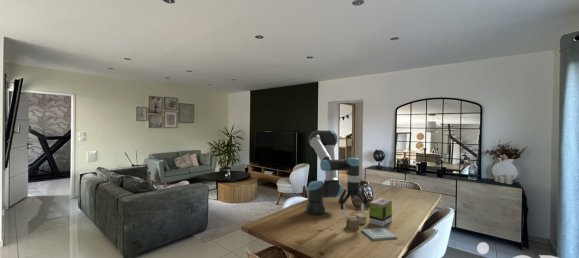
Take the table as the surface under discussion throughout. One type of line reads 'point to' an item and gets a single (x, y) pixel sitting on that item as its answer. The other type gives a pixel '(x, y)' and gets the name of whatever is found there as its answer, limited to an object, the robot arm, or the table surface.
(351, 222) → the walnut cube
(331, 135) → the robot arm
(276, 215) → the table surface
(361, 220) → the oak cube
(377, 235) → the board
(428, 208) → the table surface
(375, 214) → the tea box
